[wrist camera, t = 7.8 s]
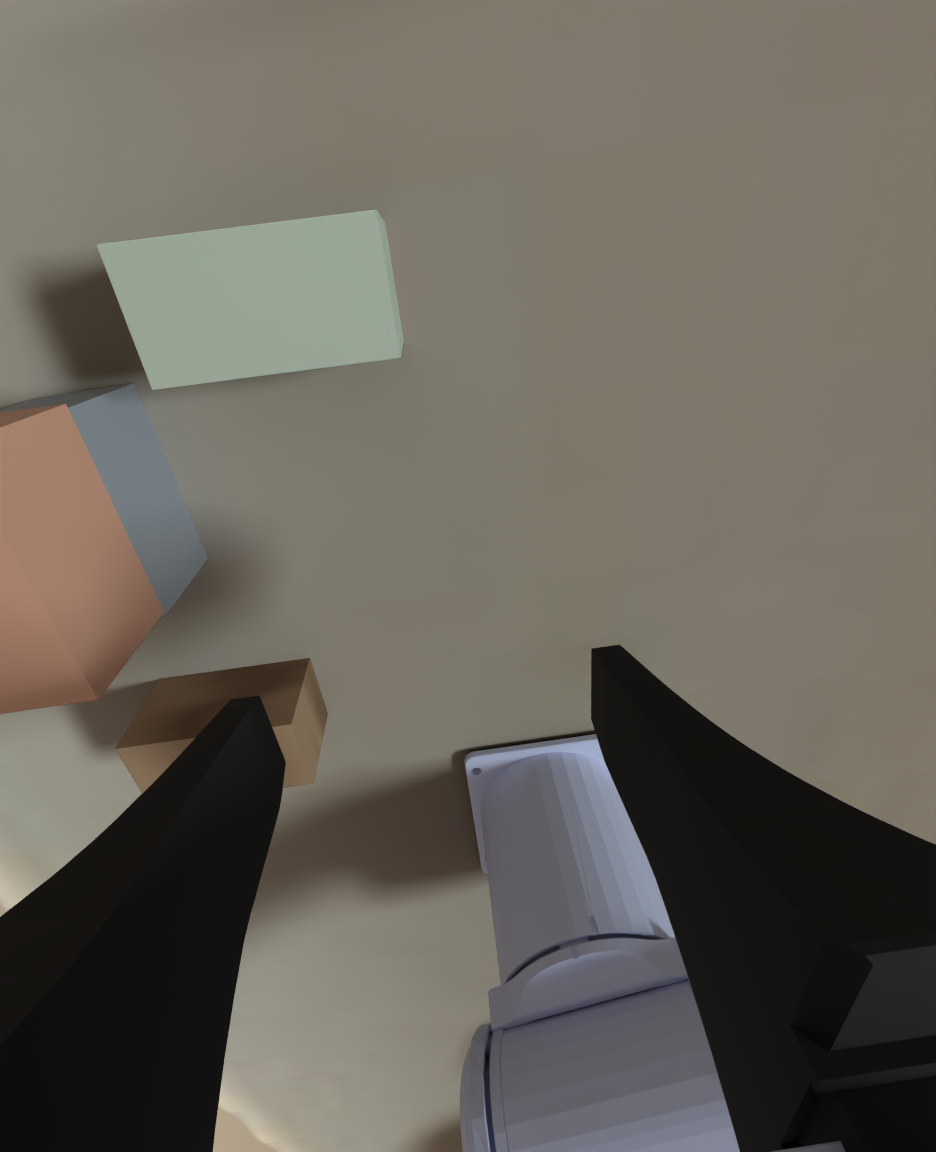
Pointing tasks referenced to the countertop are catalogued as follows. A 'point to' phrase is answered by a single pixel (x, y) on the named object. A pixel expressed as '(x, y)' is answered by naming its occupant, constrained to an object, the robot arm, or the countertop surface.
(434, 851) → the countertop surface
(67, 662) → the terracotta brick
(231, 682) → the walnut brick
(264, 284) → the sage brick
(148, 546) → the slate brick
